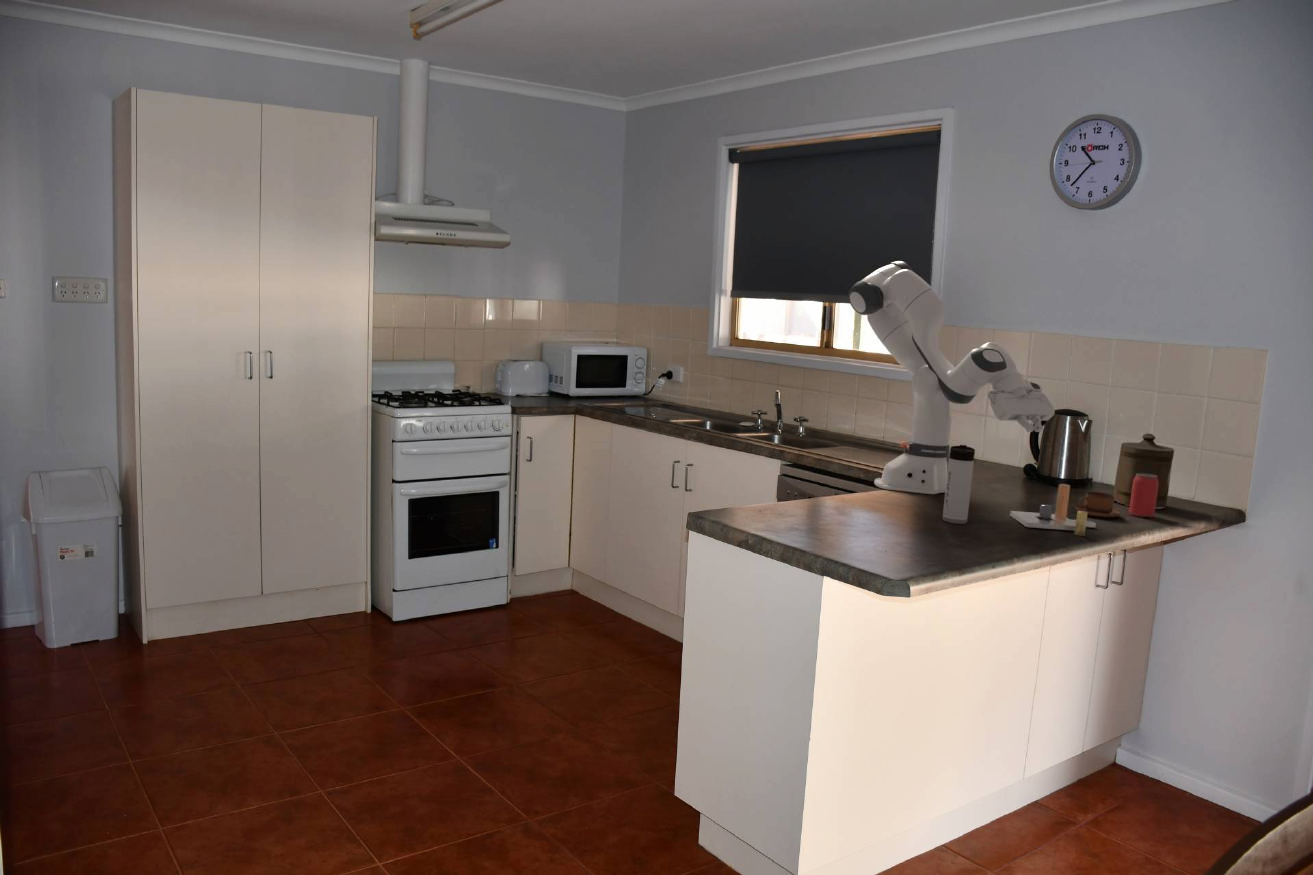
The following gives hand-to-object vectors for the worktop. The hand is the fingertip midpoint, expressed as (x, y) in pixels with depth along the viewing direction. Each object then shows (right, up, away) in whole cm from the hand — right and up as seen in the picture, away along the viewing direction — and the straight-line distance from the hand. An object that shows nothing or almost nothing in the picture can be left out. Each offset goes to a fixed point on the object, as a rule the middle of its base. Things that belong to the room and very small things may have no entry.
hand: (1035, 430), depth 274 cm
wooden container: (+42, -23, +28) cm, 56 cm away
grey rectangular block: (-2, -25, -10) cm, 27 cm away
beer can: (+34, -25, +10) cm, 44 cm away
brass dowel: (+3, -27, -20) cm, 34 cm away
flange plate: (+1, -25, -10) cm, 27 cm away
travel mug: (-27, -24, -14) cm, 39 cm away
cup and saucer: (+20, -24, +7) cm, 33 cm away
